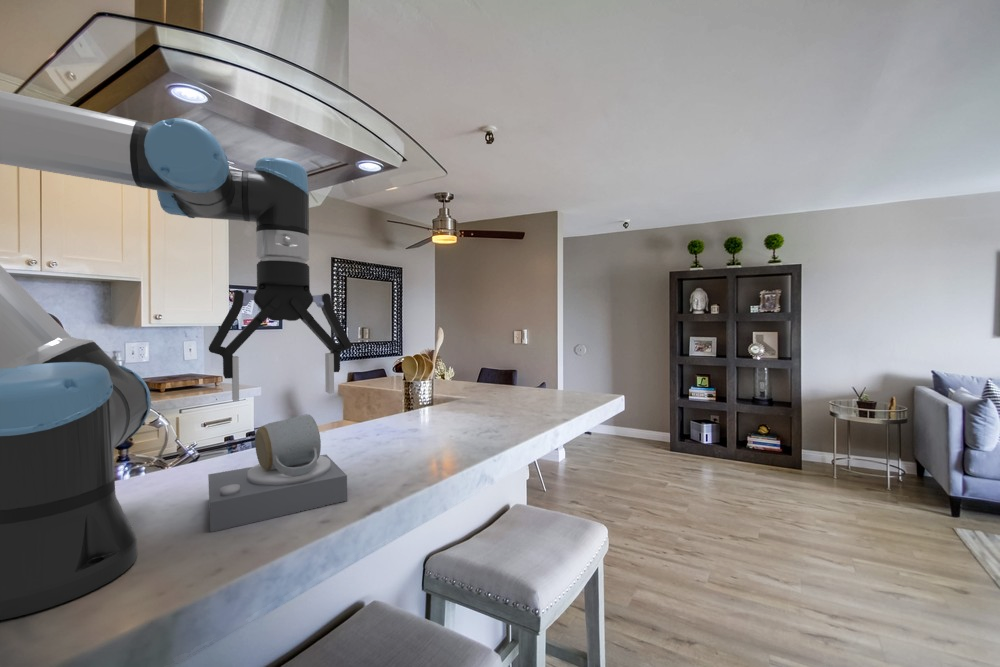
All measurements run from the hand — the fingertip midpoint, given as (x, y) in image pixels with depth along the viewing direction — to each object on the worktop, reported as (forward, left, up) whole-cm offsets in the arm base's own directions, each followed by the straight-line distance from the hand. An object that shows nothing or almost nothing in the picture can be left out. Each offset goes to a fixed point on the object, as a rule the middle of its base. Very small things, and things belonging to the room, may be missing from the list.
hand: (285, 396), depth 72 cm
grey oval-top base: (-2, 0, -16) cm, 16 cm away
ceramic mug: (+1, -1, -12) cm, 12 cm away
